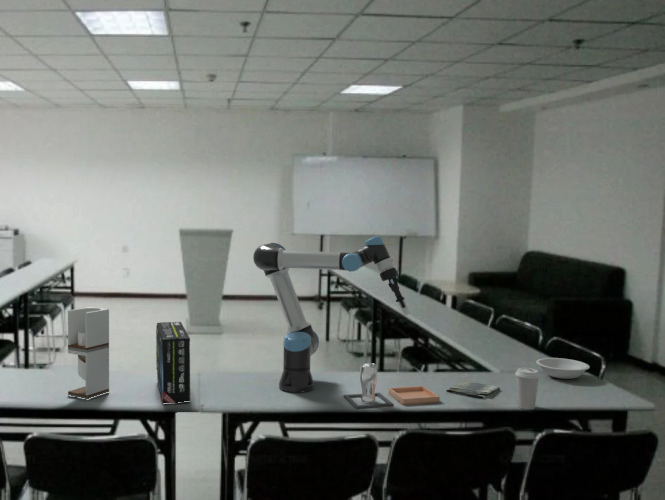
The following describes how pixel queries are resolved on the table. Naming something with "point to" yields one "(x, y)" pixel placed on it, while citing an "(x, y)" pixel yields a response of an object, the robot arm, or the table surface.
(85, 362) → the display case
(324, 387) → the table surface
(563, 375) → the soup bowl
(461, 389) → the dish towel
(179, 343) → the router box
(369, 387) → the beer glass
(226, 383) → the table surface
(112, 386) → the table surface
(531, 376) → the coffee cup
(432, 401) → the terracotta tray
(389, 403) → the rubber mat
